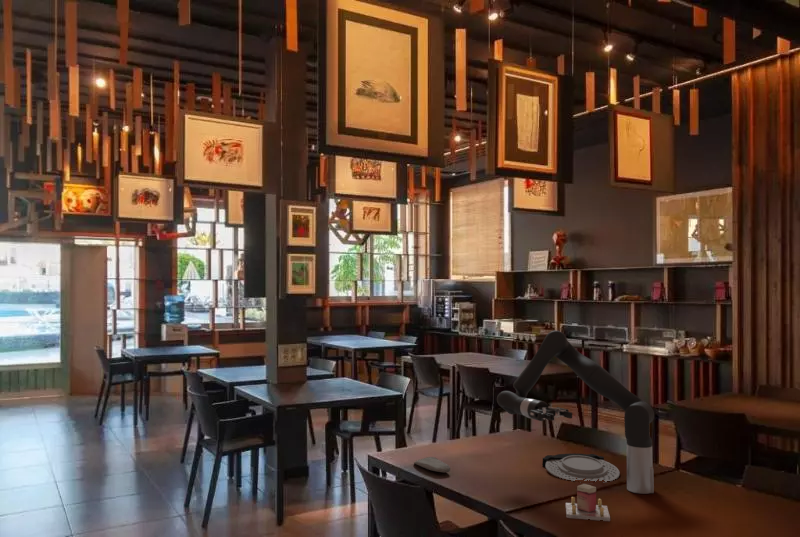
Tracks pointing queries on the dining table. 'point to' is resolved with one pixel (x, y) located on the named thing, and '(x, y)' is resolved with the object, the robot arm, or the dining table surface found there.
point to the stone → (433, 464)
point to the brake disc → (580, 467)
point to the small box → (586, 497)
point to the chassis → (597, 514)
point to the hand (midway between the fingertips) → (562, 416)
